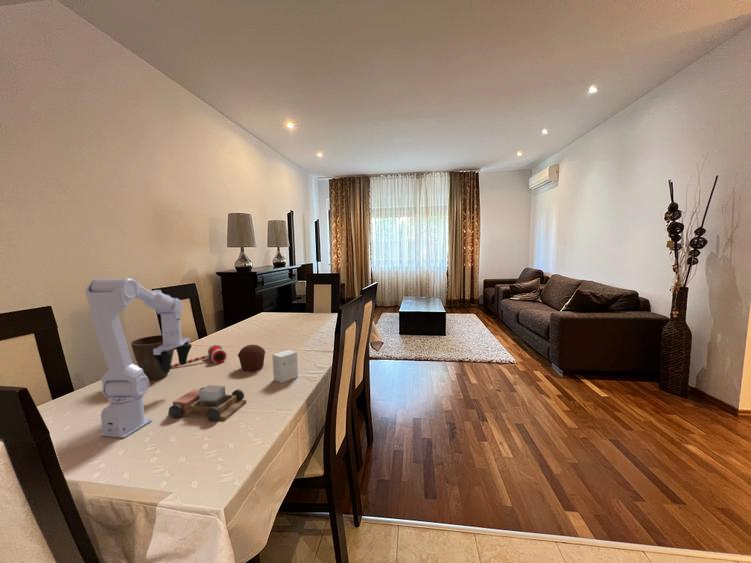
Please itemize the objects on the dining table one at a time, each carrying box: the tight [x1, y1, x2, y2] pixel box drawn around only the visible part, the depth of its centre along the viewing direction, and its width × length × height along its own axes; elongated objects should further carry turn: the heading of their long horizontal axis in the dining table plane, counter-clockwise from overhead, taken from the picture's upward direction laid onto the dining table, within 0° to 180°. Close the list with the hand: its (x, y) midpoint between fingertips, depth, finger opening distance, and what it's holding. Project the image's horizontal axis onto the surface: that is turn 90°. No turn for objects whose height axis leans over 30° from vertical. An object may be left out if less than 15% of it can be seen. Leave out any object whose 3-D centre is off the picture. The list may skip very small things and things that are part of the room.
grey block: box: [199, 384, 226, 407], centre depth 103 cm, size 4×6×6 cm
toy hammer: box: [170, 344, 228, 370], centre depth 147 cm, size 23×12×6 cm, turn 126°
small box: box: [272, 349, 299, 384], centre depth 127 cm, size 8×6×10 cm
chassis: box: [167, 386, 247, 422], centre depth 104 cm, size 14×20×4 cm
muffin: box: [237, 344, 266, 373], centre depth 140 cm, size 12×11×10 cm
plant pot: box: [130, 334, 175, 382], centre depth 131 cm, size 15×15×16 cm
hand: (174, 368), depth 115 cm, fingers open, 7 cm apart
